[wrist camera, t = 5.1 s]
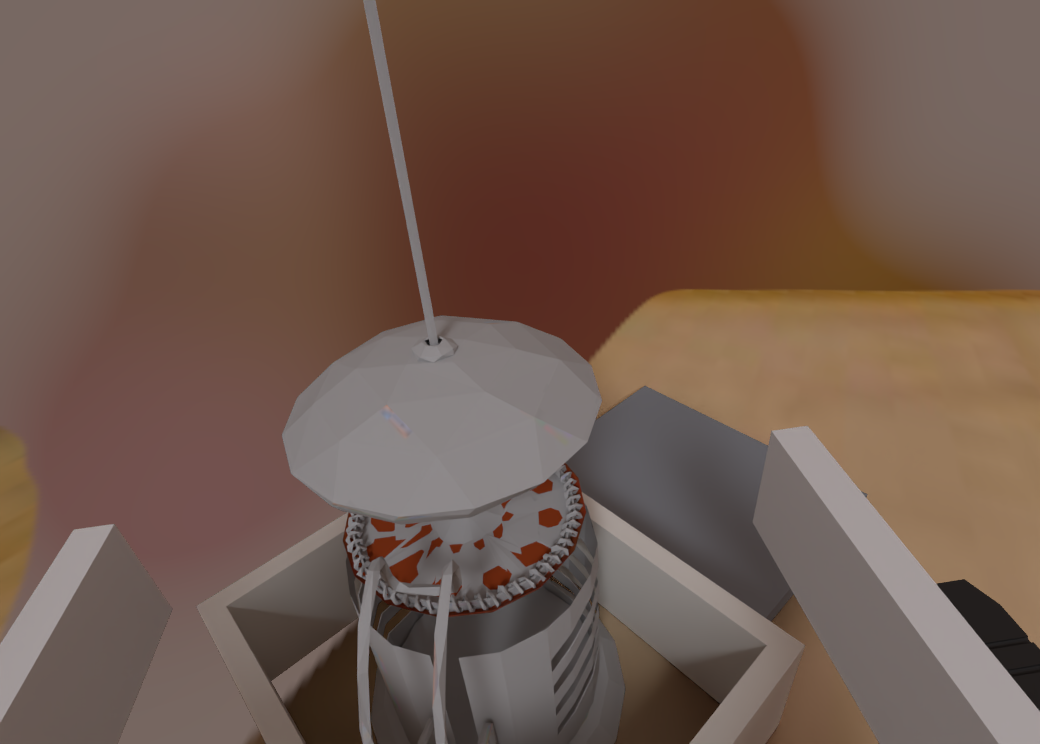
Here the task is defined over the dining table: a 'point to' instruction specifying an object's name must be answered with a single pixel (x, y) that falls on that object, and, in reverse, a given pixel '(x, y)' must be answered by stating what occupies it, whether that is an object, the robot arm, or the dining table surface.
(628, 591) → the white open storage bin
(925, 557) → the dining table surface
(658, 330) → the dining table surface
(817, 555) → the robot arm
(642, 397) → the rubber mat
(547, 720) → the french press
